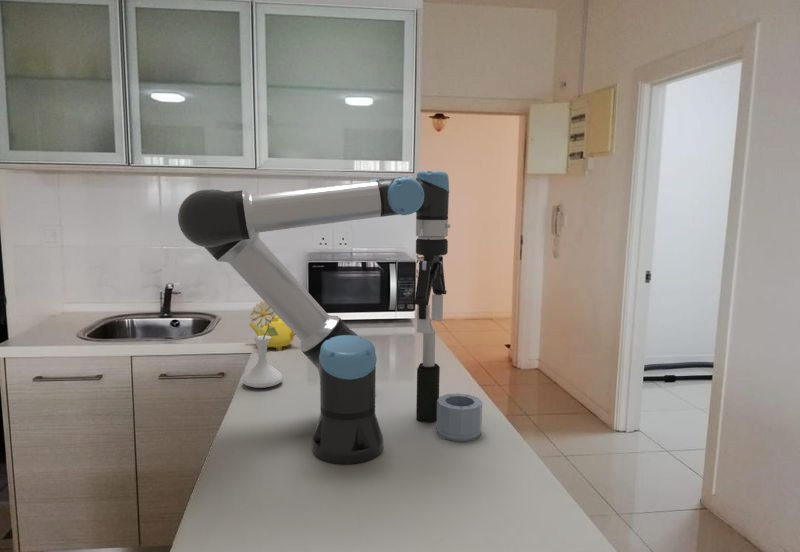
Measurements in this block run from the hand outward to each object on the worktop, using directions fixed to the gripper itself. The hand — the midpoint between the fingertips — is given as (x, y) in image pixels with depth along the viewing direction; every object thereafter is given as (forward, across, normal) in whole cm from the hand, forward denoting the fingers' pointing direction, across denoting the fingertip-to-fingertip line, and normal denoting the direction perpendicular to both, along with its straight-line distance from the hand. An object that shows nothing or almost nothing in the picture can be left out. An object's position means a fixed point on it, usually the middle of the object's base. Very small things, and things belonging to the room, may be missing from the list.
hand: (430, 326), depth 135 cm
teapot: (+23, +46, +68) cm, 85 cm away
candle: (+23, 0, 0) cm, 23 cm away
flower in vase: (+23, +8, +50) cm, 56 cm away
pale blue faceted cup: (+23, -6, -9) cm, 25 cm away
